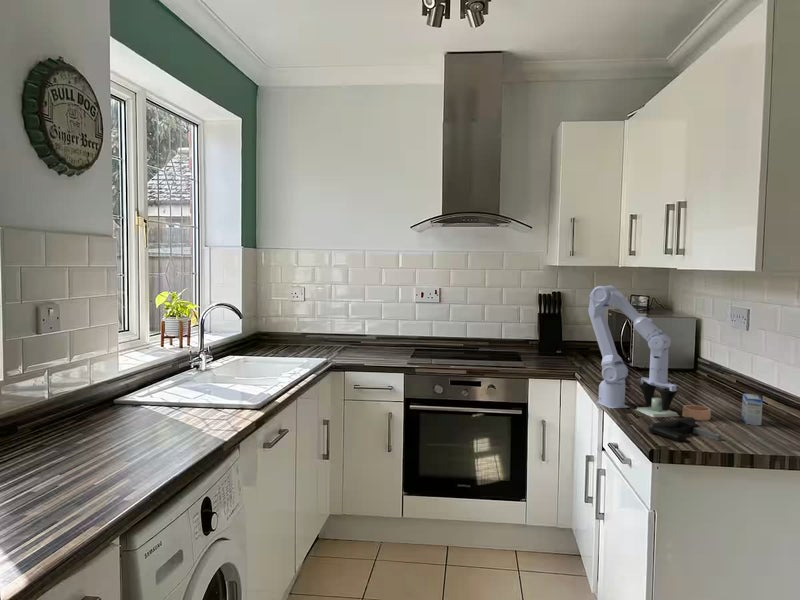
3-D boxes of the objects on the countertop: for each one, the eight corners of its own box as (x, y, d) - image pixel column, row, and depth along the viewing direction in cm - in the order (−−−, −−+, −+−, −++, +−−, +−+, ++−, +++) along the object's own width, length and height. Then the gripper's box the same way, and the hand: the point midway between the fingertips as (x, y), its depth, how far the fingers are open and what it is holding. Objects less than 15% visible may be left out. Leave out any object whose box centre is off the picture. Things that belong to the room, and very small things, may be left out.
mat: (634, 410, 202) (634, 409, 202) (660, 409, 204) (660, 408, 204) (652, 418, 192) (652, 417, 192) (680, 417, 194) (680, 415, 194)
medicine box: (741, 418, 193) (742, 393, 193) (756, 420, 192) (757, 394, 191) (745, 424, 186) (747, 398, 186) (761, 426, 184) (763, 399, 184)
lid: (636, 409, 201) (637, 396, 201) (660, 408, 203) (660, 395, 203) (653, 416, 192) (653, 402, 192) (677, 415, 194) (678, 401, 194)
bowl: (677, 415, 196) (678, 405, 196) (698, 414, 198) (698, 404, 197) (694, 422, 188) (694, 411, 188) (715, 421, 190) (716, 410, 189)
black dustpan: (733, 430, 172) (684, 414, 186) (691, 439, 162) (643, 421, 176) (732, 440, 172) (683, 424, 186) (690, 450, 163) (642, 432, 176)
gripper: (634, 365, 202) (633, 403, 203) (665, 373, 189) (663, 413, 189) (650, 364, 205) (649, 402, 205) (682, 372, 191) (680, 412, 192)
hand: (657, 407), depth 198 cm, fingers open, 7 cm apart
